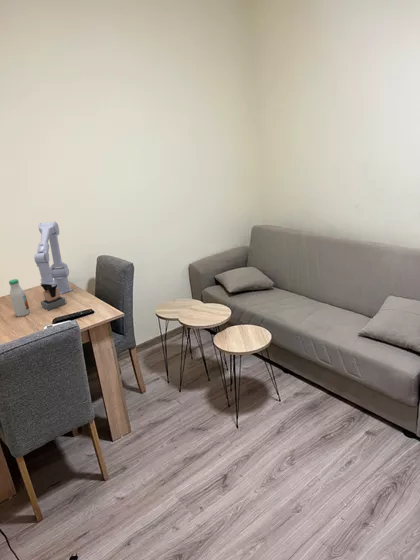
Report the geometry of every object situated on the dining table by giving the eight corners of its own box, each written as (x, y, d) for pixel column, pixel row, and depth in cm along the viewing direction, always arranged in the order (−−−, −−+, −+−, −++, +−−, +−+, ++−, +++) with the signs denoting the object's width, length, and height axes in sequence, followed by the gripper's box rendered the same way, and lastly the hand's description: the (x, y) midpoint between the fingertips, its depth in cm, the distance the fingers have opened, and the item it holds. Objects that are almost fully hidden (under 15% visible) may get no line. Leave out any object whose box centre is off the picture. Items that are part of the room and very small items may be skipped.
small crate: (45, 299, 229) (42, 291, 227) (56, 295, 233) (54, 287, 232) (48, 301, 225) (46, 293, 224) (60, 297, 230) (58, 289, 228)
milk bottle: (24, 316, 219) (15, 282, 212) (12, 316, 221) (2, 283, 214) (33, 310, 226) (23, 277, 219) (21, 310, 228) (11, 278, 221)
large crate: (41, 307, 230) (40, 301, 229) (59, 300, 237) (57, 295, 236) (48, 310, 224) (47, 304, 223) (66, 303, 231) (64, 298, 230)
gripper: (33, 273, 226) (39, 295, 231) (44, 278, 216) (50, 300, 221) (45, 269, 231) (50, 291, 235) (56, 274, 221) (62, 296, 226)
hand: (51, 295), depth 228 cm, fingers closed on small crate, 5 cm apart
